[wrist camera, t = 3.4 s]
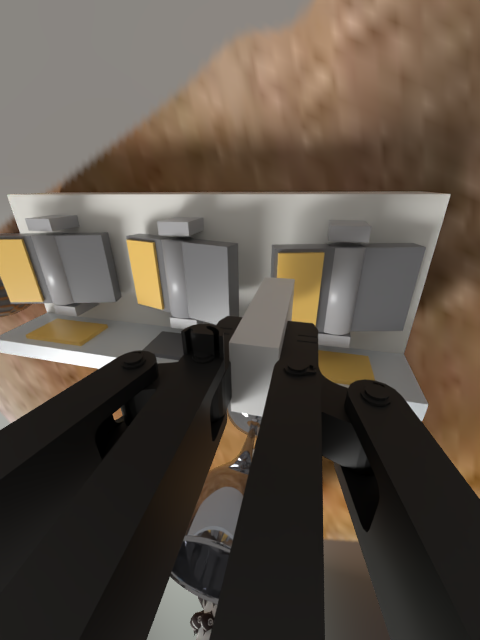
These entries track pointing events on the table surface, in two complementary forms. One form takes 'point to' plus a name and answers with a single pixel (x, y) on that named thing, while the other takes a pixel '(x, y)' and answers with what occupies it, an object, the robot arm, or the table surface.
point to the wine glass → (216, 519)
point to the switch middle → (185, 276)
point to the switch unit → (253, 263)
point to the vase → (3, 307)
